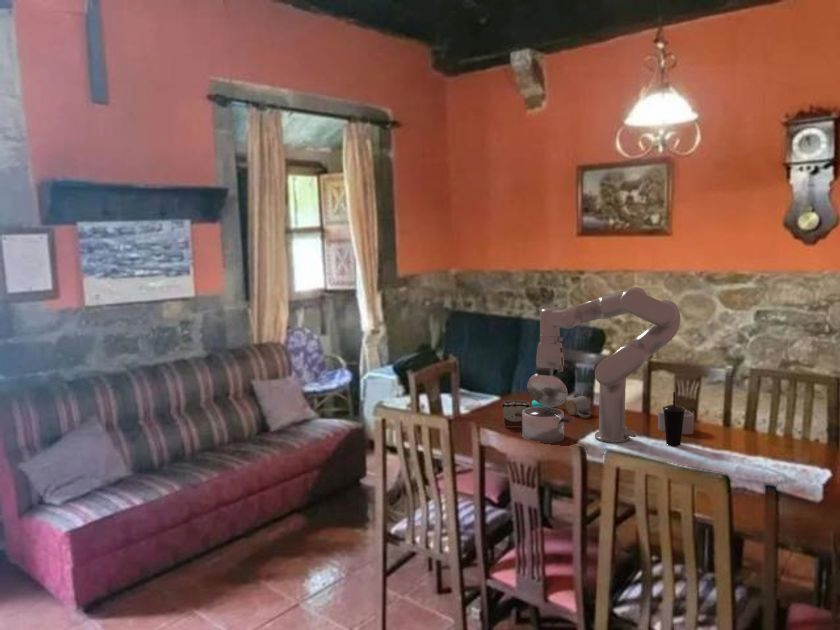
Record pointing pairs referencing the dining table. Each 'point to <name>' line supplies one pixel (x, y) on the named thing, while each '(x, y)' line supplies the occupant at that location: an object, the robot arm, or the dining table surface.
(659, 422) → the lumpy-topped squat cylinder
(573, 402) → the ceramic mug
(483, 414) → the dining table surface
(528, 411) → the pot
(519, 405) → the food container
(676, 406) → the drinking cup
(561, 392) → the lid
